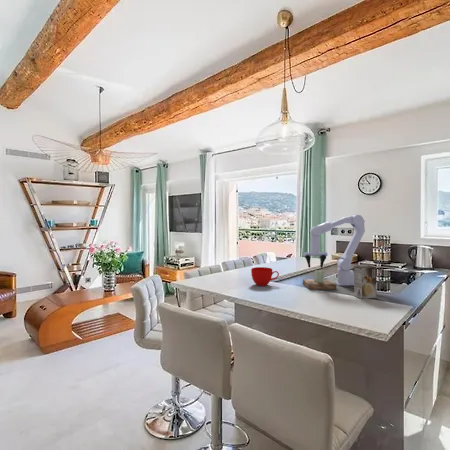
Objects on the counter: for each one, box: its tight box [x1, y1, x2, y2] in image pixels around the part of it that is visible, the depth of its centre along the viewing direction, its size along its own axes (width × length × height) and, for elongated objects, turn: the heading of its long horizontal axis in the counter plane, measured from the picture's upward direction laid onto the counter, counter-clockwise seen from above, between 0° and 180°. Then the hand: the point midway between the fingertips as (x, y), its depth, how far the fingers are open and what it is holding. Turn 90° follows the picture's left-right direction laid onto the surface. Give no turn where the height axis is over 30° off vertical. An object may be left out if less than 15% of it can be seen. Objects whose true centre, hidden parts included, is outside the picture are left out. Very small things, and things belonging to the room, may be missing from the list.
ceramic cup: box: [250, 266, 280, 287], centre depth 193 cm, size 13×17×10 cm
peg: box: [314, 270, 325, 283], centre depth 188 cm, size 4×4×9 cm
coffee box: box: [353, 265, 377, 300], centre depth 164 cm, size 9×6×16 cm
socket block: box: [302, 278, 338, 290], centre depth 188 cm, size 16×14×3 cm
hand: (315, 267), depth 196 cm, fingers open, 7 cm apart
